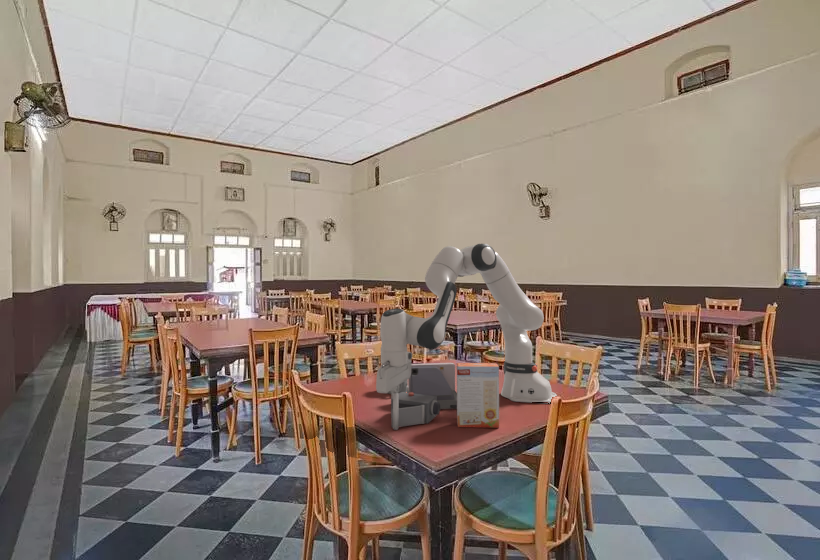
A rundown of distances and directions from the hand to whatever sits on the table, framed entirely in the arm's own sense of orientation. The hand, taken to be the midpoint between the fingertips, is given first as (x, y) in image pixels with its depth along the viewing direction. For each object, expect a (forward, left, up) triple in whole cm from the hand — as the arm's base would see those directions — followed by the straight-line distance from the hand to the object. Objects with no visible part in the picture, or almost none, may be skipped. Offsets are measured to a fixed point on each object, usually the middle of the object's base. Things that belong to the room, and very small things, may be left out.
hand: (394, 398), depth 147 cm
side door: (-4, -2, -9) cm, 11 cm away
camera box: (-2, -12, -10) cm, 16 cm away
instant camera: (-2, -30, -10) cm, 32 cm away
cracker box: (-25, -13, -10) cm, 30 cm away
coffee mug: (+17, -37, -10) cm, 42 cm away
